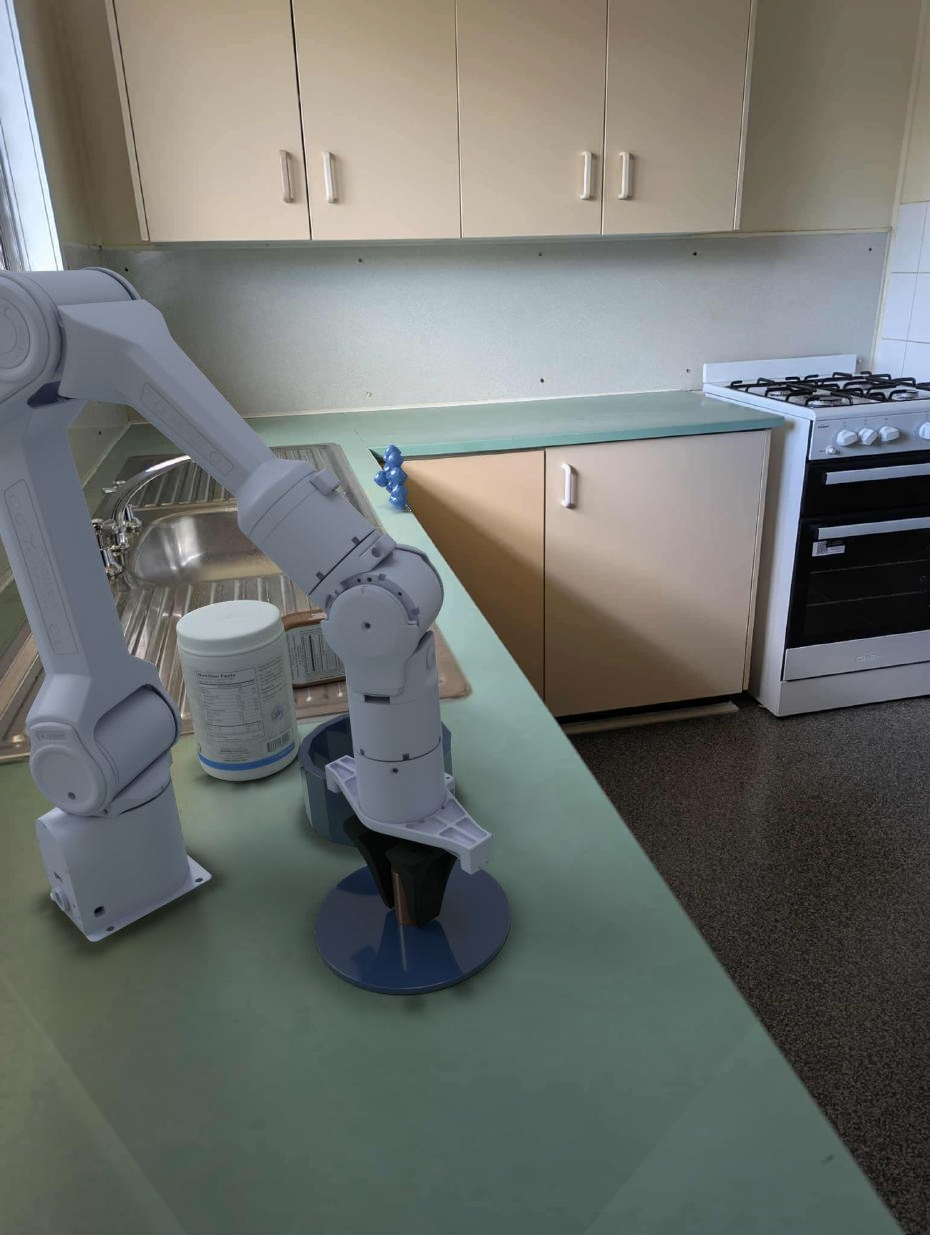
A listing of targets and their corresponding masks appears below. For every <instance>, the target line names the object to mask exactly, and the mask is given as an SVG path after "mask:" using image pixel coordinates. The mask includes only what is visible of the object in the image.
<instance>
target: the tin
mask: <svg viewBox="0 0 930 1235" xmlns="http://www.w3.org/2000/svg"><path fill="white" fill-rule="evenodd" d="M325 617H327V614H326V613H325V612H324V611H323V610H322V609H321V608H317V609H310V610H302V611H295V612H291V613H287V614H285V615H283V616H282V615H281V619H282V622H283V625H284V630H285V637H286V644H287V651H288V659H289V667H290V674H291V682H292V688H305V687H310V686H317V685H322V684H327V683H334V682H339V681H346V675H345V667H344V665H343V662H342V661H341V659H340V658H339V657H338V656H337V655H336V654H335V652H334V651H333V650H332V649H331V647H330V646H329V645H328V643H327V641H326V639H325V637H324V635H323V632H322V628H321V623H320V622H321V621H322V620H325Z"/></svg>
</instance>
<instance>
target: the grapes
mask: <svg viewBox="0 0 930 1235" xmlns="http://www.w3.org/2000/svg"><path fill="white" fill-rule="evenodd" d="M383 453H384V454H383V457H382V460H383V461H384V462H385V464H384V466H383V469H382V470H379V471H377V473H376V474H375V476H374V477H373V481H374V482H375V484H376V485H377V486H379V487H380V488H382V489H383V488H385V490H386V491H387V493H389V494H390V496H389V498H388V501H389V503H390V504H391V505H392V506H393V507H394V508H395V509H397V510H399V511H402V510H403V509H404V508H406V505H407V504H408V502H409V500H408V499H407V496H408V494H409V492H410V491H409V489H407V488H406V486H405V483H406V481H407V480H408V478H409V475H408V474H407V473H406V472H405V471H404V469H403V468H402V466H403V464H404V461H405V458H404V457H403V456H402V455H401V454H402V451H401V450H400V449H399V448H398V447H397V446H396V445H394V444H390V445H388V447H387V448H386V450H385V451H384V452H383Z"/></svg>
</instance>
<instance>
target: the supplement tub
mask: <svg viewBox="0 0 930 1235" xmlns="http://www.w3.org/2000/svg"><path fill="white" fill-rule="evenodd" d="M281 617H282V614H281V611H280V609H279V608H278V606H276V605H274V604H272V603H270V602H268V601H267V602H266V601H263V600H256V599H255V600H254V599H237V600H227V601H226V600H225V601H222V602H221V601H220V602H215V603H212V604H207V605H205V606H201V607H198V608H196V609H193V610H192V611H189V612H188V613H186V614H184V615H183V616H182V617H181V618H180V619H179V620H178V622H177V623H176V626H175V630H176V636H177V638H176V644H177V650H178V655H179V662H180V666H181V671H182V676H183V682H184V687H185V692H186V698H187V702H188V708H189V713H190V718H191V725H192V729H193V734H194V735H193V736H194V740H195V745H196V751H197V755H198V760H199V764H200V766H201V767H202V769H203V771H205V773H207V774H208V775H209V776H211V777H213V778H216V779H220V780H223V781H228V782H247V781H253V780H259V779H263V778H266V777H268V776H271V775H273V774H275V773H277V772H279V771H281V770H283V769H284V768H285V767H287V766H289V765H290V764H291V763H292V762H293V761H294V759H295V758H296V757H297V756H298V754H299V751H300V737H299V728H298V720H297V712H296V705H295V698H294V691H293V687H292V682H291V674H290V667H289V659H288V651H287V644H286V637H285V630H284V625H283V622H282V619H281Z"/></svg>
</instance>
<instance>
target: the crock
mask: <svg viewBox="0 0 930 1235" xmlns="http://www.w3.org/2000/svg"><path fill="white" fill-rule="evenodd" d="M441 728H442V746H443V760H444V772H445V773H447V774H449V775H451V776H452V777H453V778H454V779H455V770H454V755H453V740H452V739H453V738H452V731H451V730H450V729H449V728H448V727H447V726H446V725H445V723H444V722H443V721H442V720H441ZM346 755H348V756H350V757H352V758H354V751H353V741H352V732H351V723H350V714H349V712H347V713H343V714H340V715H338V716H336V717H333V718H330V719H329V720H327V721H325V722H322V723H320V724H319V725H318V726H316V727H315V728H314V729H313V730H312V731H310V732H309V733H308V734H307V735H306V736H305V737H304V738H303V739H302V742H301V745H300V747H299V750H298V753H297V756H298V764H299V770H300V771H299V772H300V777H301V778H300V779H301V786H302V791H303V792H302V793H303V798H304V806H305V807H304V808H305V813H306V817H307V819H308V821H309V823H310V826H311V829H312V830H313V831H314V832H316V833H317V834H319V835H320V836H321V837H323V838H324V839H326V840H328V841H329V842H330V843H334V844H339V845H342V846H343V845H344V846H348V847H352V848H356V849H358V848H357V847H356V845H355V844H354V843H353V842H352V840H351V839H350V838H349V837H348V836H347V835H346V834H345V832H344V831H343V823H344V821H345V820H346V819H347V818H349V817H351V816H352V815H354V814H356V813H355V811H354V810H353V808H352V806H351V805H350V803H349V802H348V800H347V798H346V797H345V795H344V794H343V792H342V791H341V792H339V793H335V792H333V791H331V790H329V789H328V787H327V779H326V771H325V766H326V765H328V764H330V763H332V762H334V761H336V760H338V759H340V758H342V757H344V756H346ZM455 785H456V784H455V783H454V787H453V788H452V789H451V790H449V791H450V792H451V793H452V795H453V796H454V797H455V798H456V786H455Z"/></svg>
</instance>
